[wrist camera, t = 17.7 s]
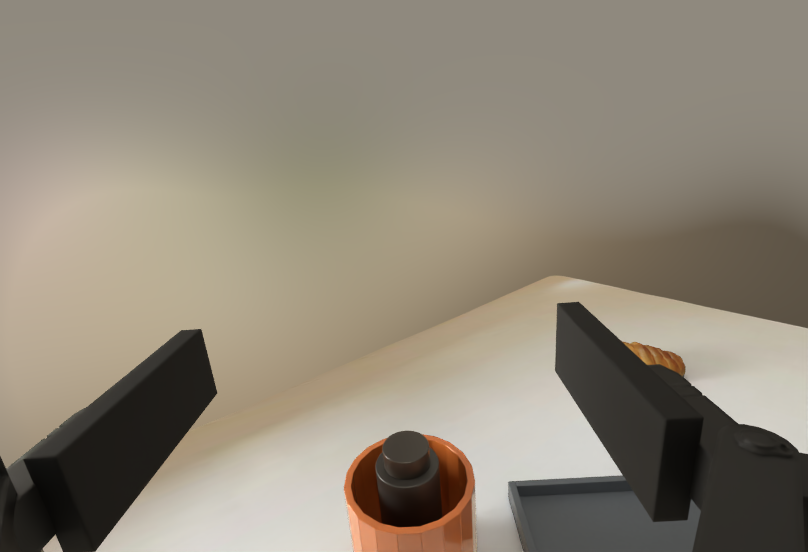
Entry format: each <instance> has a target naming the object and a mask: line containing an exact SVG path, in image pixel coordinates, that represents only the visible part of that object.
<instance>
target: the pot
mask: <svg viewBox="0 0 808 552" xmlns="http://www.w3.org/2000/svg"><path fill="white" fill-rule="evenodd" d="M422 435H423V434H422ZM423 436H425V437H426V439H427V440H428V442H429V447H430V448H431V449H433V450H434V452H435V453H436V455H437V456H438V459H439V470H440V486H441V502H442V518H441V519H439V520H437V521H434V522H431V523H428V524H425V525H422V526H417V527H395V526H391V525H386V524H382V519H381V511H380V502H379V494H378V485H377V477H376V461H377V459H378V457H379V455H380V454H381V453H382V447H383V444H384V442H385V440H386V439H387V438H386V439H383V440H381V441H379V442H377V443H375V444H373V445H371V446H369V447H368V448H367V449H365V450H364V451H363V452H362V453H361V454H360V455H359V456H358V457H356V459H355V460H354V462H353V463H352V465H351V466H350V468H349V470H348V471H347V474H346V480H345V485H344V493H345V500H346V506H347V513H348V520H349V526H350V533H351V540H352V547H353V552H477V533H476V500H475V479H474V474H473V469H472V465H471V464H470V462H469V461H468V459H467V458H466V456H465V455H464V453H463V452H462V451H460V450H459V449H458V448H457V447H455V446H454V445H453V444H451V443H450V442H448V441H445V440H443V439H440V438H438V437H435V436H430V435H423Z"/></svg>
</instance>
